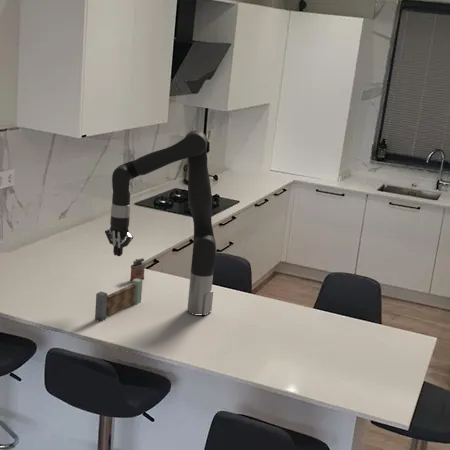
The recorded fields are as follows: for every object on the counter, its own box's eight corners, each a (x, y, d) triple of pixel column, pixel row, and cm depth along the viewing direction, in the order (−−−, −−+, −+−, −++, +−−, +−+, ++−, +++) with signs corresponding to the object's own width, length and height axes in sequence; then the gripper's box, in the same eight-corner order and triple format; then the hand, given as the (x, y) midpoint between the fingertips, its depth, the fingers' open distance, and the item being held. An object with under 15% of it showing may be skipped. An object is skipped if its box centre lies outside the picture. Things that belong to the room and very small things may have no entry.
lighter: (133, 283, 313) (134, 262, 310) (128, 280, 315) (129, 260, 312) (145, 279, 319) (147, 258, 316) (140, 277, 321) (142, 256, 318)
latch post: (140, 302, 293) (142, 280, 290) (136, 304, 290) (138, 281, 287) (135, 300, 294) (136, 278, 291) (130, 302, 291) (132, 280, 289)
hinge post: (105, 319, 273) (107, 293, 270) (101, 321, 270) (102, 295, 267) (99, 317, 274) (101, 291, 271) (94, 319, 271) (96, 293, 268)
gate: (108, 315, 275) (109, 297, 273) (105, 314, 276) (106, 295, 273) (134, 303, 289) (135, 285, 287) (130, 302, 290) (131, 284, 288)
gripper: (101, 212, 278) (98, 253, 283) (128, 219, 272) (125, 261, 277) (112, 209, 285) (110, 249, 290) (139, 216, 279) (136, 257, 284)
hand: (117, 255), depth 283 cm, fingers closed
